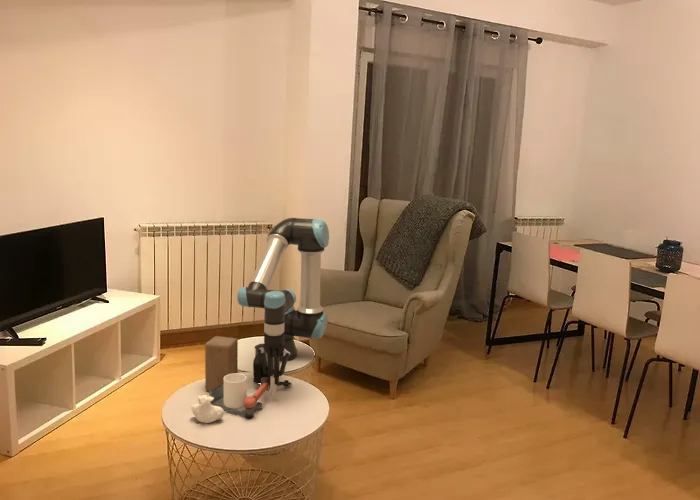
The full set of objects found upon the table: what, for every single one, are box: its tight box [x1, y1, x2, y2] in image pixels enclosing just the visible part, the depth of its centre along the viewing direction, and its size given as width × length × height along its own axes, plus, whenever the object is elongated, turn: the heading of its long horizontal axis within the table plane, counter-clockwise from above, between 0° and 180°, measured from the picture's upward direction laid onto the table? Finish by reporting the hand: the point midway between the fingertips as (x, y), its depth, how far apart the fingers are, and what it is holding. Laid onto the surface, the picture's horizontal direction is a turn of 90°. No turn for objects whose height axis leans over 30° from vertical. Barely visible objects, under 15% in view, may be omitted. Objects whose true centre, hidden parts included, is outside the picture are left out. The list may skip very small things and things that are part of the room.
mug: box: [224, 372, 247, 408], centre depth 217 cm, size 12×8×10 cm
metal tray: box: [208, 383, 263, 420], centre depth 216 cm, size 10×20×6 cm, turn 63°
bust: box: [190, 394, 225, 424], centre depth 204 cm, size 12×8×11 cm
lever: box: [244, 377, 270, 408], centre depth 216 cm, size 20×4×6 cm, turn 169°
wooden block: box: [204, 335, 239, 392], centre depth 231 cm, size 10×10×20 cm
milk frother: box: [252, 343, 292, 387], centre depth 237 cm, size 14×16×15 cm
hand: (273, 391), depth 223 cm, fingers closed
